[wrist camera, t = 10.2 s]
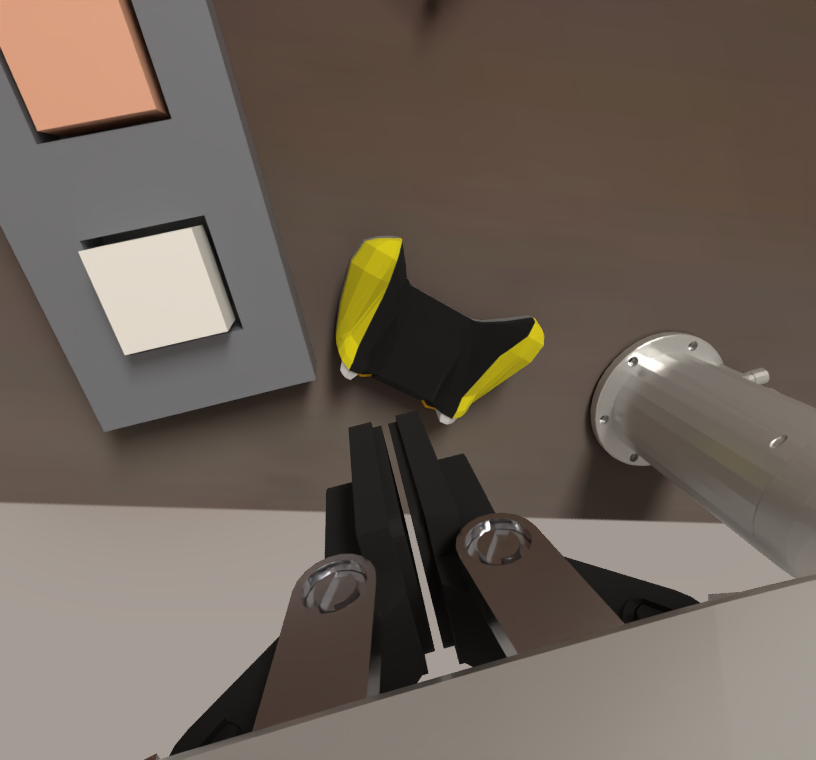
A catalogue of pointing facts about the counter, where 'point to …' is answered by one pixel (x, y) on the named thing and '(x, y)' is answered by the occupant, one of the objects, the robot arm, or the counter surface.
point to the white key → (160, 289)
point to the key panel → (156, 228)
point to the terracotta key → (80, 64)
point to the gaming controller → (423, 335)
